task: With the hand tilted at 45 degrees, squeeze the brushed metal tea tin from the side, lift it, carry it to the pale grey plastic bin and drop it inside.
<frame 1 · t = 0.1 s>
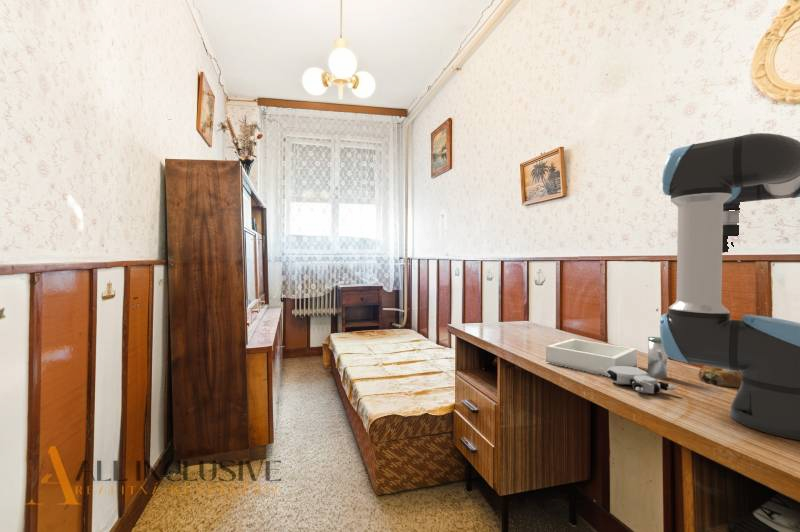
hand: (728, 288, 121), 28 cm above the table, tool pointing down, fingers open, 13 cm apart
bin: (591, 364, 127), on the table
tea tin: (657, 376, 114), on the table
bread roll: (719, 383, 109), on the table
robot toy: (636, 389, 103), on the table
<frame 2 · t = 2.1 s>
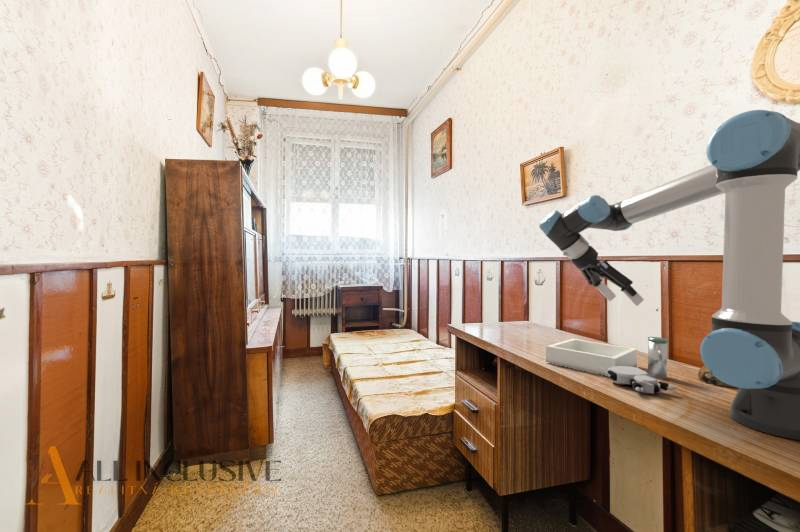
hand: (625, 300, 115), 24 cm above the table, tool tilted 45°, fingers open, 13 cm apart
nothing on the table moved.
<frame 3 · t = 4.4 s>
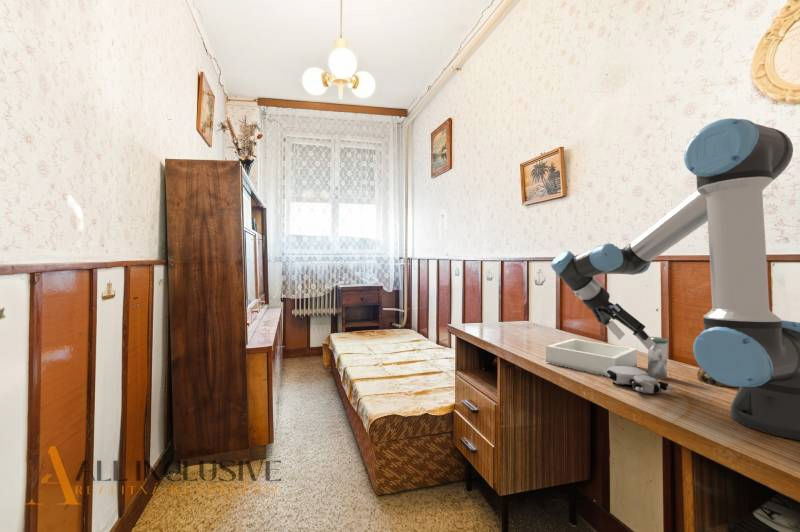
hand: (635, 341, 115), 11 cm above the table, tool tilted 45°, fingers open, 13 cm apart
nothing on the table moved.
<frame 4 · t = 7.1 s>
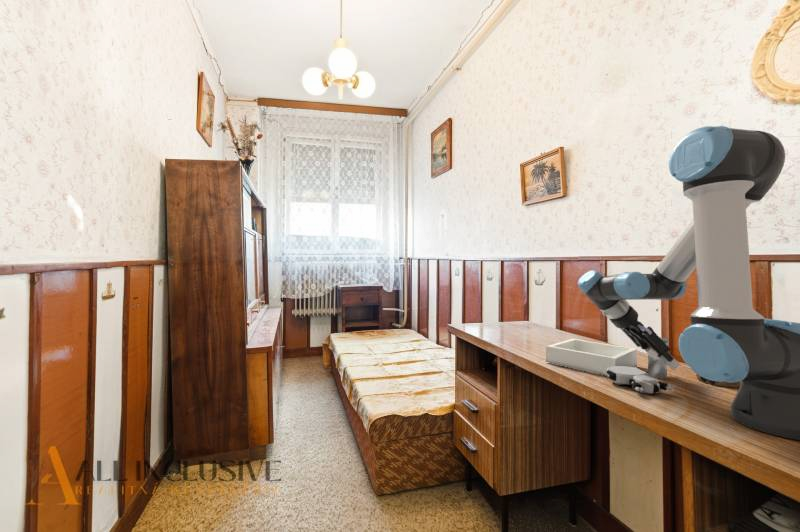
hand: (669, 364, 114), 4 cm above the table, tool tilted 45°, fingers closed on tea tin, 5 cm apart
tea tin: (657, 376, 114), on the table, touching gripper
everything else where it was.
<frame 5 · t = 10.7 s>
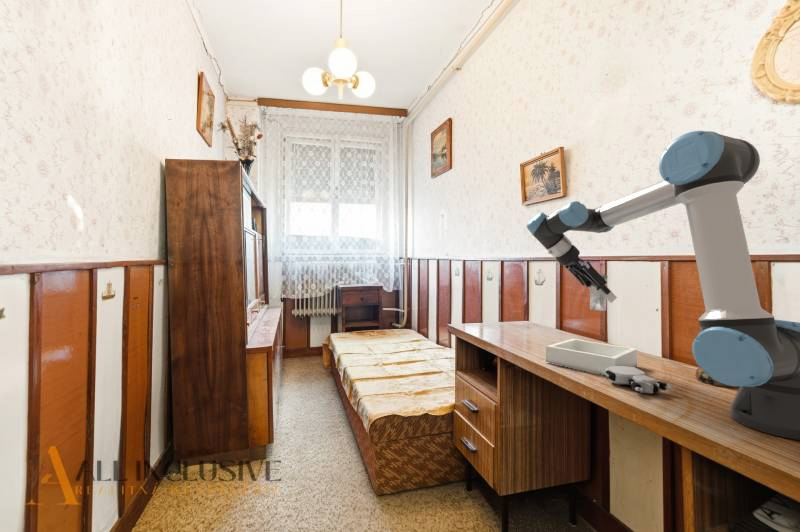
hand: (608, 299, 126), 23 cm above the table, tool tilted 45°, fingers closed on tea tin, 5 cm apart
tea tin: (597, 309, 126), point 19 cm above the table, touching gripper
everything else where it was.
when the fingers open (7 cm above the table, at t = 14.2 s): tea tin drops 2 cm, resting on bin.
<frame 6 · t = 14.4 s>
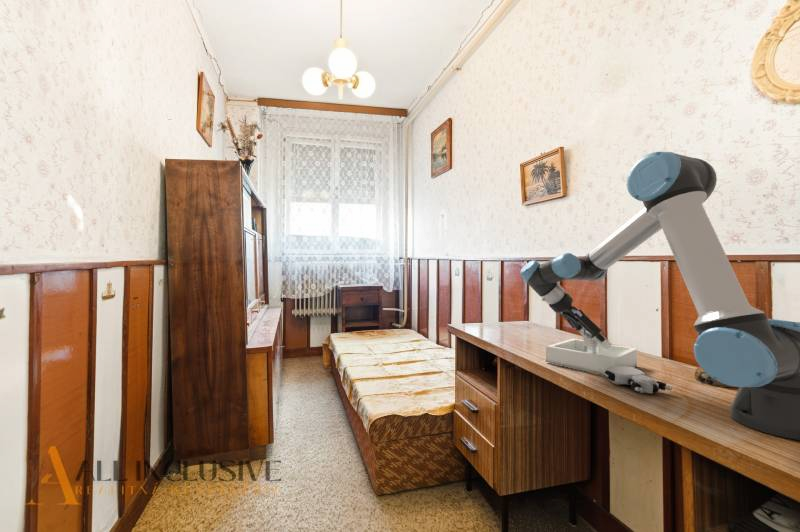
hand: (600, 344, 127), 7 cm above the table, tool tilted 45°, fingers open, 8 cm apart
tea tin: (590, 361, 127), point 1 cm above the table, touching bin
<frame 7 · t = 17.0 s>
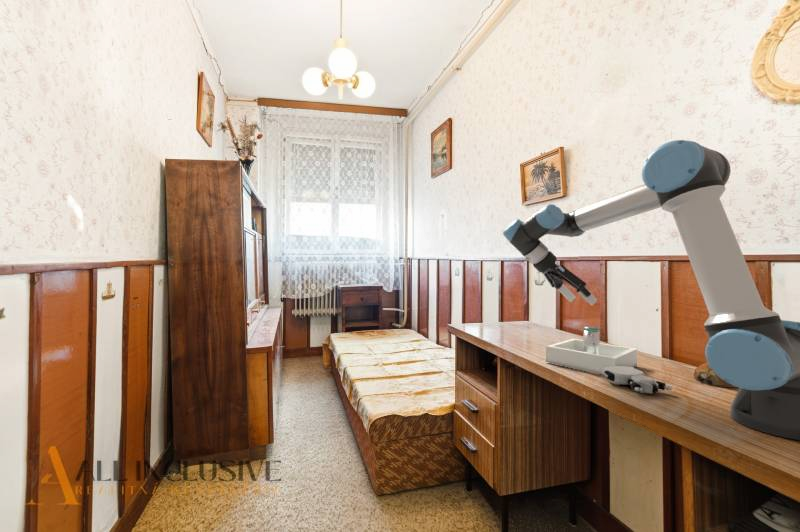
hand: (583, 301, 125), 22 cm above the table, tool tilted 45°, fingers open, 13 cm apart
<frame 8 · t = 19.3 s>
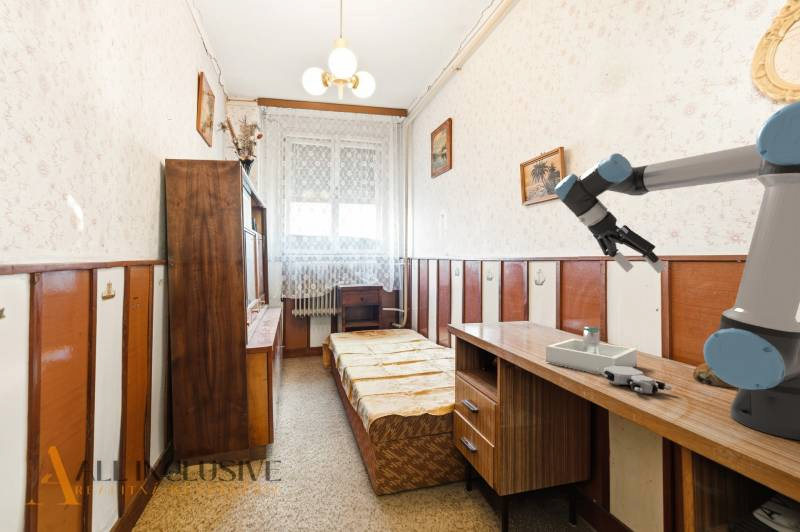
hand: (645, 269, 109), 34 cm above the table, tool tilted 45°, fingers open, 13 cm apart
at the end: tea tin inside the target area on the bin (0.1 cm from its centre), point 1.0 cm above the bin's base; the gripper is holding nothing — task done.
